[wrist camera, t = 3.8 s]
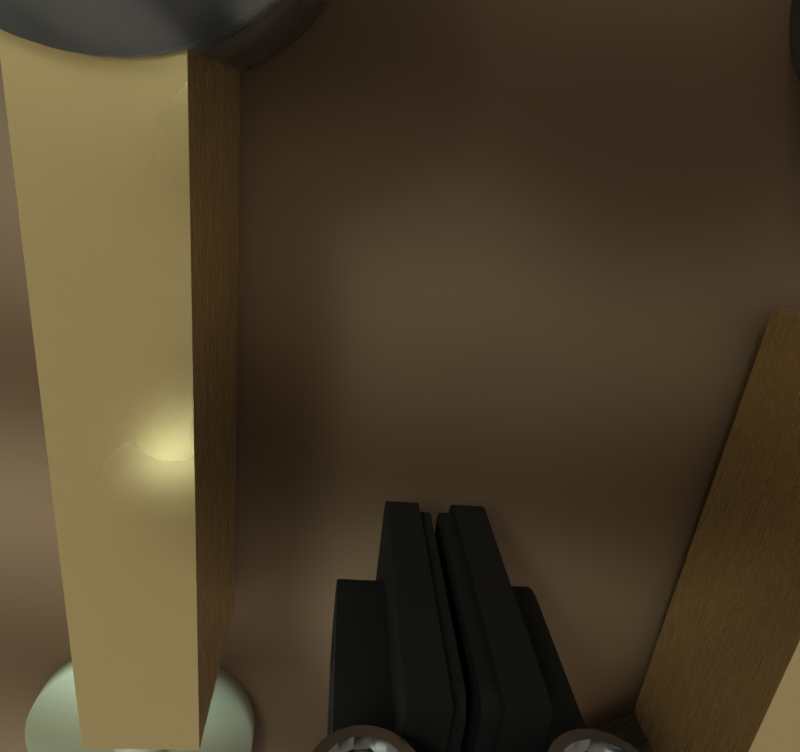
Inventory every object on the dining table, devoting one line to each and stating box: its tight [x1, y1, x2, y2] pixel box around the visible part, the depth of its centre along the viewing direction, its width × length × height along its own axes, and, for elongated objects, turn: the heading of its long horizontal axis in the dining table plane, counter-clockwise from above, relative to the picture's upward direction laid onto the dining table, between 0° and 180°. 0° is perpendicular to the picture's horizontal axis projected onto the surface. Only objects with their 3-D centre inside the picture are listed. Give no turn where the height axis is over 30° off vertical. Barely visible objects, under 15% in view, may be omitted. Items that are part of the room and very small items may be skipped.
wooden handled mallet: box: [591, 308, 800, 752], centre depth 11 cm, size 13×4×3 cm, turn 174°
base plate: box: [0, 0, 800, 752], centre depth 11 cm, size 21×18×4 cm
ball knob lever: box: [0, 0, 330, 750], centre depth 7 cm, size 13×4×3 cm, turn 174°
